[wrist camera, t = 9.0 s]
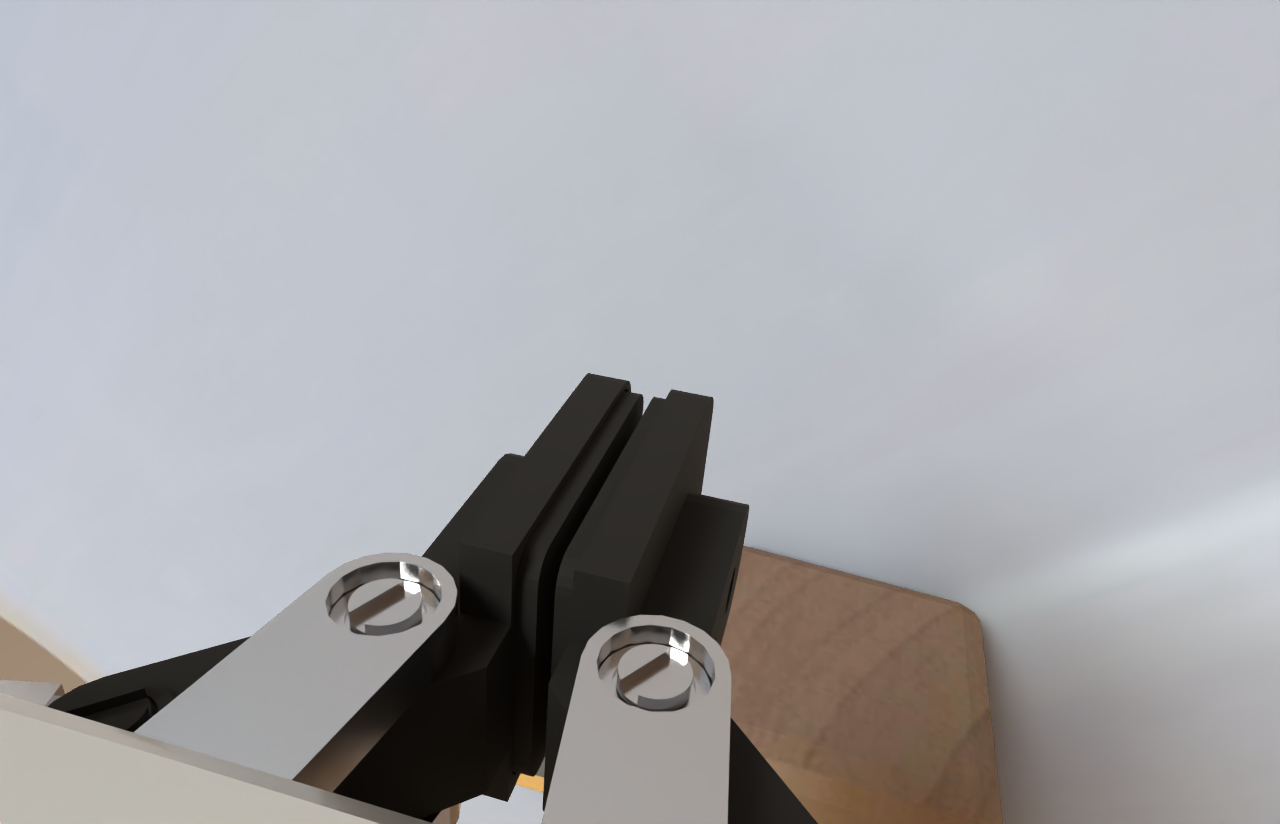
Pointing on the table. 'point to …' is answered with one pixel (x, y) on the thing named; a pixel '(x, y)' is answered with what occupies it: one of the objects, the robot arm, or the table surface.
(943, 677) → the block
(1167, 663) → the table surface
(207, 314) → the table surface
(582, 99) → the table surface
